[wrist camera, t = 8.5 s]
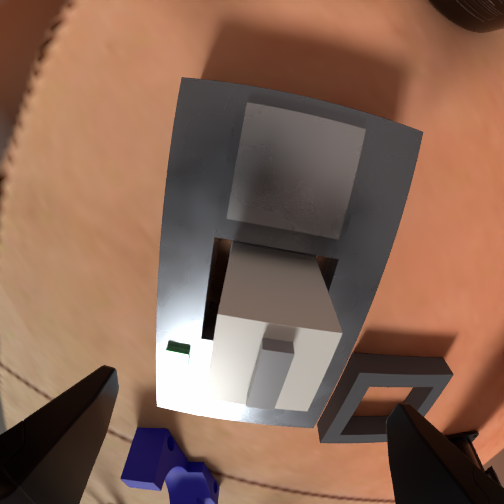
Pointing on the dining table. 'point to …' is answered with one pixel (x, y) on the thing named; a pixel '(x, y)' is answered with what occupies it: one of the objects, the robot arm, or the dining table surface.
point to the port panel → (272, 220)
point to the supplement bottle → (473, 13)
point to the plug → (271, 330)
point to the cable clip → (167, 469)
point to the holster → (379, 375)
